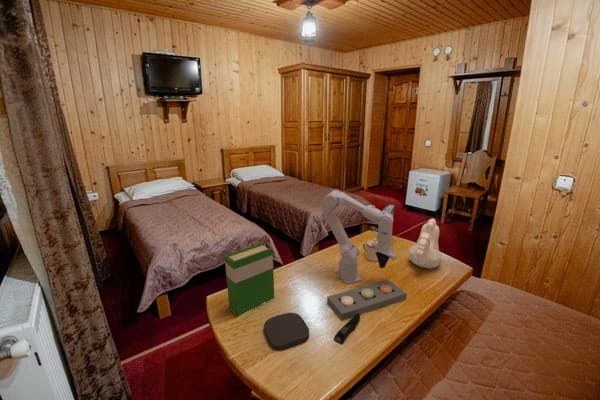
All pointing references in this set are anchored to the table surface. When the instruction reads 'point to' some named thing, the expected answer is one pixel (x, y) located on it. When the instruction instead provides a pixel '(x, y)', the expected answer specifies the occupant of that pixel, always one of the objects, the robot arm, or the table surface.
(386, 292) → the terracotta button
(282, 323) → the media streaming box
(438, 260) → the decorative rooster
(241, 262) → the hardback book
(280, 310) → the table surface
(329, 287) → the table surface
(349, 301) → the cream button
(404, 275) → the table surface
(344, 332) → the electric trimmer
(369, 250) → the teacup with lid
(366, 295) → the sage button
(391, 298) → the button panel
